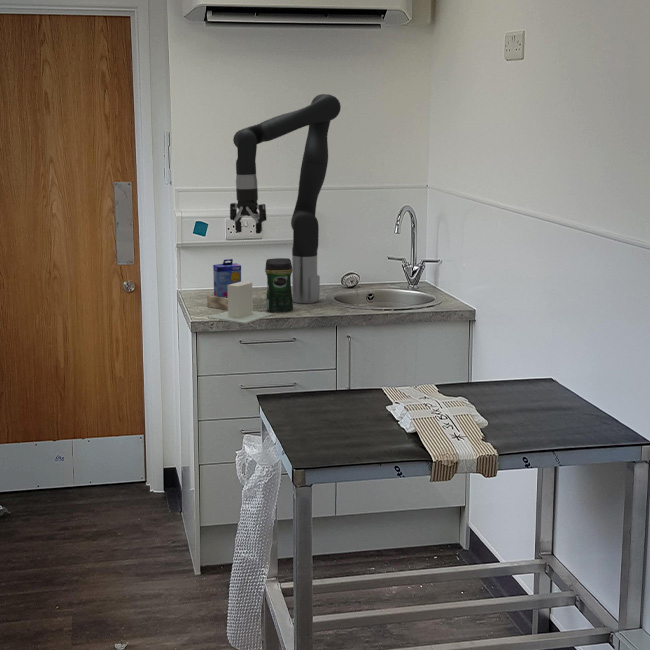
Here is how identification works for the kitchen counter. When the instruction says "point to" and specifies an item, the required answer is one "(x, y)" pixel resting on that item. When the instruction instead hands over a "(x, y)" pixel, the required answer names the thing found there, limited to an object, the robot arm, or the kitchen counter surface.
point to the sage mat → (243, 320)
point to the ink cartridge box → (225, 277)
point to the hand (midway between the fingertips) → (248, 232)
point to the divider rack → (217, 302)
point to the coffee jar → (279, 285)
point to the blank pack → (240, 299)
